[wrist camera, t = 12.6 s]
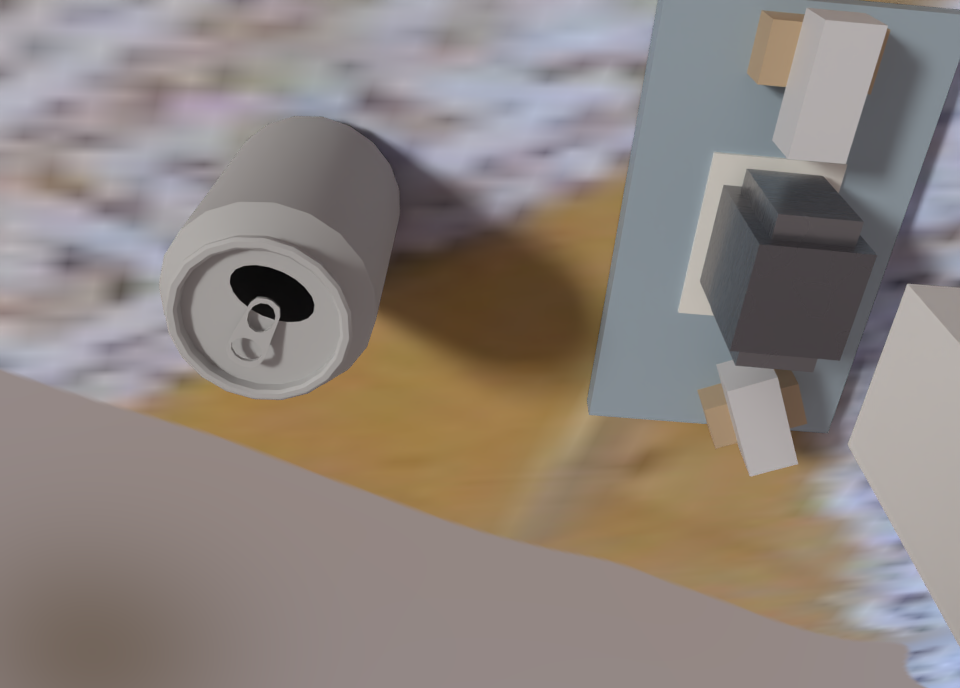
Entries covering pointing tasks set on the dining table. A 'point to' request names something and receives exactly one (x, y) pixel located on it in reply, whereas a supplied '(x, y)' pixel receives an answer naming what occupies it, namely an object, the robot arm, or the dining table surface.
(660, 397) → the rig
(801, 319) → the stepped grey block
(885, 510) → the robot arm
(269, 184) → the can
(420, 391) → the dining table surface
